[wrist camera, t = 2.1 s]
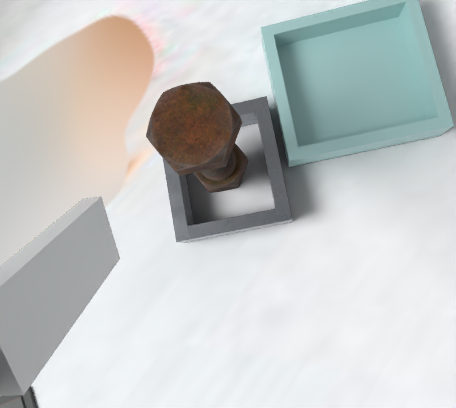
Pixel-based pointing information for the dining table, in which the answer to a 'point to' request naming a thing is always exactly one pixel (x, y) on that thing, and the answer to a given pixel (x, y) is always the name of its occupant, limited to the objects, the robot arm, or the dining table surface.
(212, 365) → the dining table surface
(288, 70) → the tray
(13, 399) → the calculator
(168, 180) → the square frame
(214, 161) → the bolt
